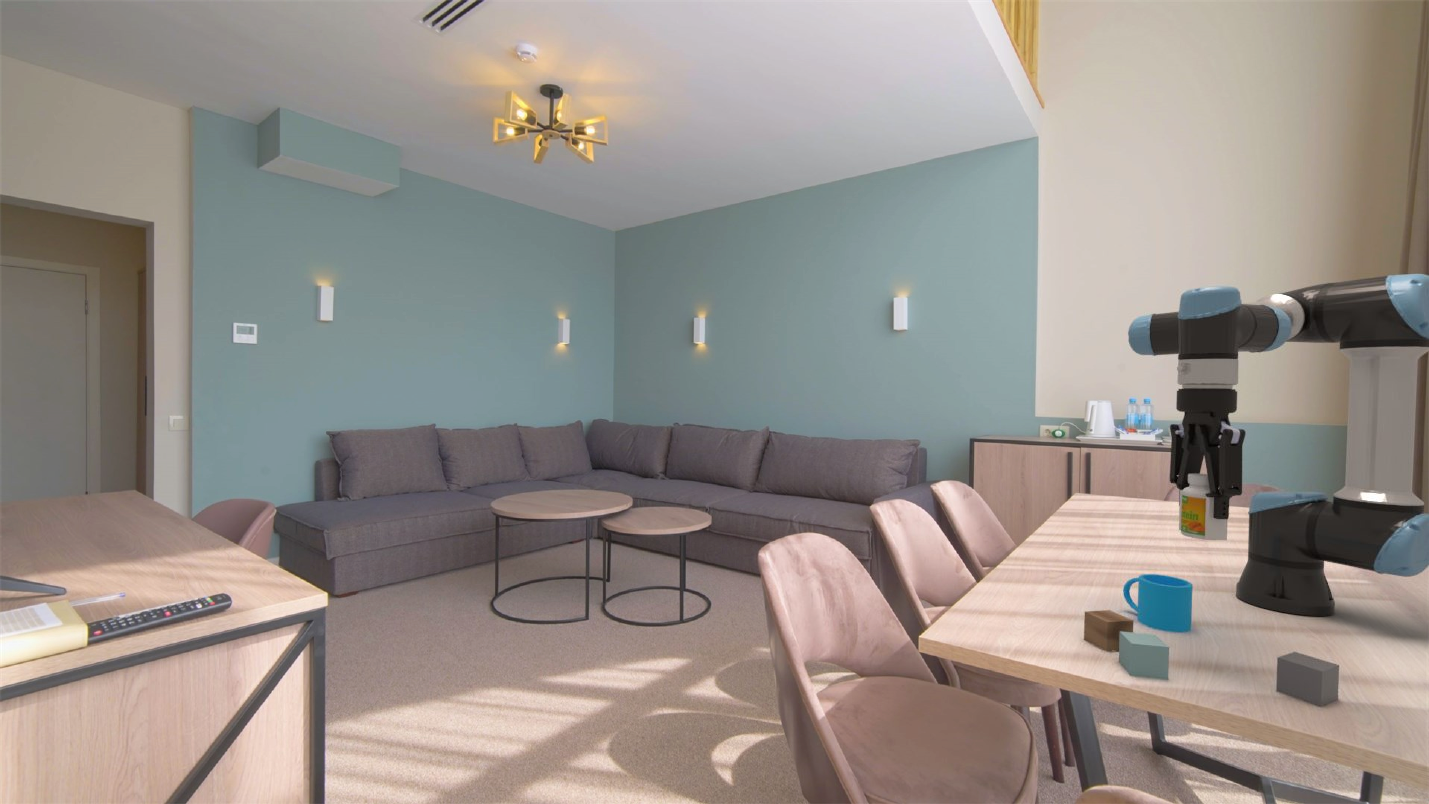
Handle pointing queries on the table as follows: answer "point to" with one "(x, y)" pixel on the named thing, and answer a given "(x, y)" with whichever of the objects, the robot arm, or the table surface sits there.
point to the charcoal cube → (1307, 678)
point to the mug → (1162, 602)
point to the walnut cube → (1105, 628)
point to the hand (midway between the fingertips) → (1202, 534)
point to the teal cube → (1144, 655)
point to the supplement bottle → (1194, 506)
